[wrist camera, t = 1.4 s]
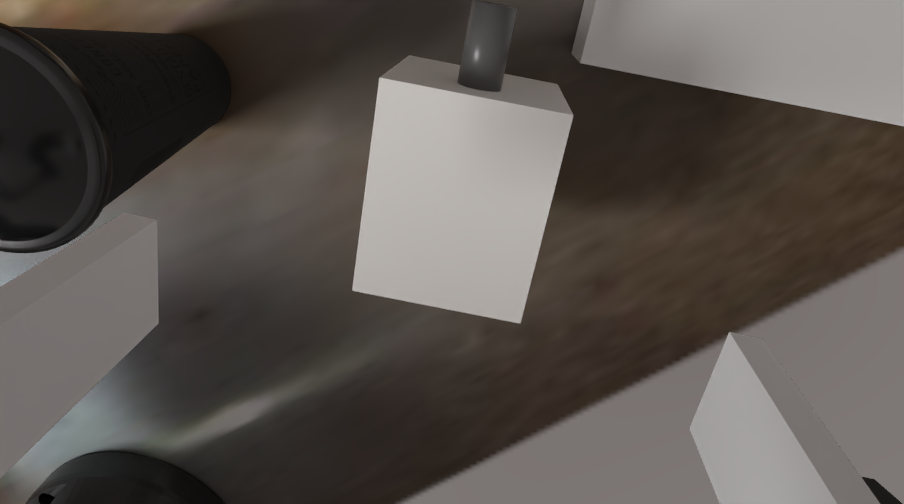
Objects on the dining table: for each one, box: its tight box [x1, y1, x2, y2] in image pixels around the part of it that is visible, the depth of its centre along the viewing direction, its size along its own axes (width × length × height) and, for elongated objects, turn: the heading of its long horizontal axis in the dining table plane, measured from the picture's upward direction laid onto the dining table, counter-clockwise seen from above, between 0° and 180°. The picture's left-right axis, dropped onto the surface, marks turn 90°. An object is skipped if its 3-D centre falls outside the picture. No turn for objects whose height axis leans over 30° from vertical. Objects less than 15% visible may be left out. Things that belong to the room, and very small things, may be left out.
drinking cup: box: [0, 23, 231, 253], centre depth 23 cm, size 8×8×20 cm
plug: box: [352, 0, 574, 323], centre depth 27 cm, size 11×6×11 cm, turn 170°
